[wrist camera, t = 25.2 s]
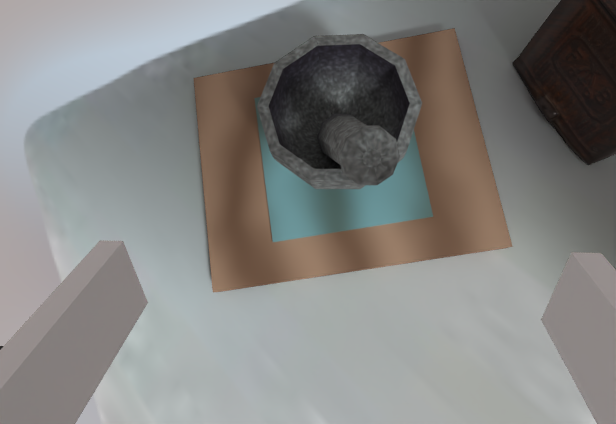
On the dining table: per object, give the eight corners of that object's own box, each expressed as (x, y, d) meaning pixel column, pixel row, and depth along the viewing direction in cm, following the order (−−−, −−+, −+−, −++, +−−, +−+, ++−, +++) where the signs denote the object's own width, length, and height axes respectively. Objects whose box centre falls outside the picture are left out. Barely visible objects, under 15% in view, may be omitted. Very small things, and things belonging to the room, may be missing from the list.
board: (450, 38, 31) (455, 26, 30) (505, 248, 27) (513, 246, 26) (199, 85, 33) (192, 76, 31) (218, 291, 29) (211, 292, 27)
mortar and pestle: (265, 110, 30) (215, -4, 18) (376, 74, 30) (398, -64, 18) (304, 241, 28) (275, 208, 16) (425, 204, 27) (487, 143, 16)
